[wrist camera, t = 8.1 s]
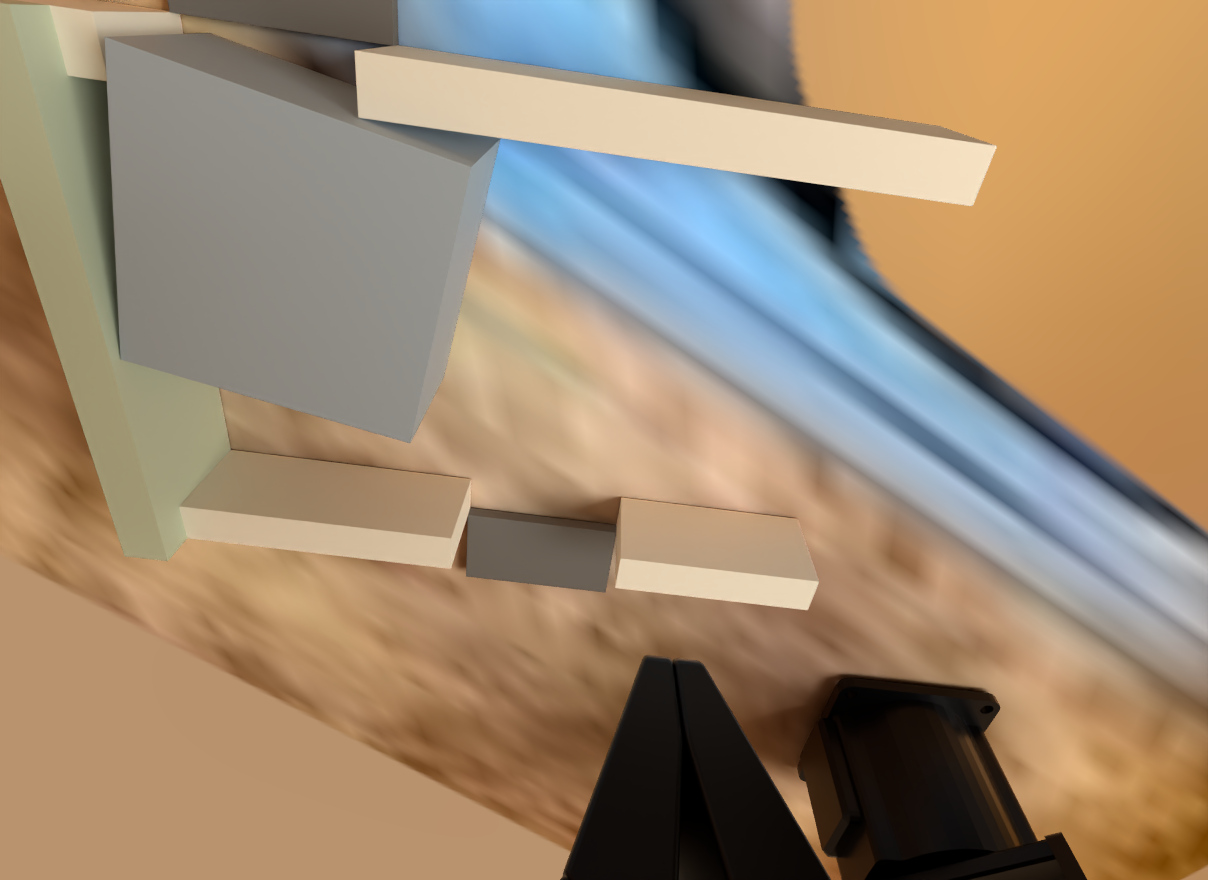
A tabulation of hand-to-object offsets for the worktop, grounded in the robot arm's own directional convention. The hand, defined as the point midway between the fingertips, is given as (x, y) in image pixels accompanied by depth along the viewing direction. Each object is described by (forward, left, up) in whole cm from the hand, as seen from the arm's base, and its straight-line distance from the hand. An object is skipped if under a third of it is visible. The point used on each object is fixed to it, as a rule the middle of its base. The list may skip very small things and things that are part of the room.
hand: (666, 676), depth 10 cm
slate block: (+9, -2, -12) cm, 15 cm away
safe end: (+13, 0, -12) cm, 18 cm away
